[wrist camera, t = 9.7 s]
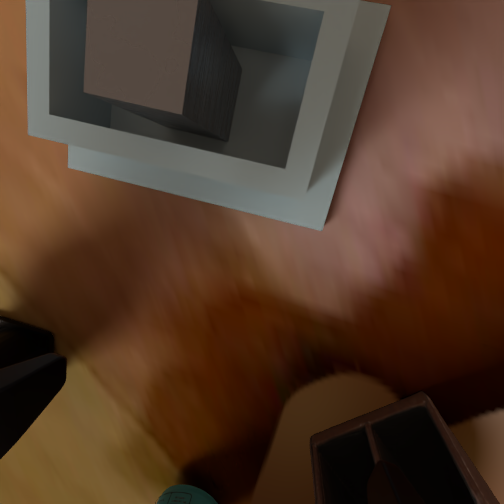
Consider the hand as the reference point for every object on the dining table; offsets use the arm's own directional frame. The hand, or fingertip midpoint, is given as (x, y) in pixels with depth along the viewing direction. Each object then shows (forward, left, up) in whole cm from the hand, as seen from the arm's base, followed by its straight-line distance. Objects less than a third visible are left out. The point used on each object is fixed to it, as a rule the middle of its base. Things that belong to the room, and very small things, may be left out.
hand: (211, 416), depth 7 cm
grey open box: (-6, +10, -12) cm, 17 cm away
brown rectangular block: (-6, +10, -12) cm, 16 cm away
